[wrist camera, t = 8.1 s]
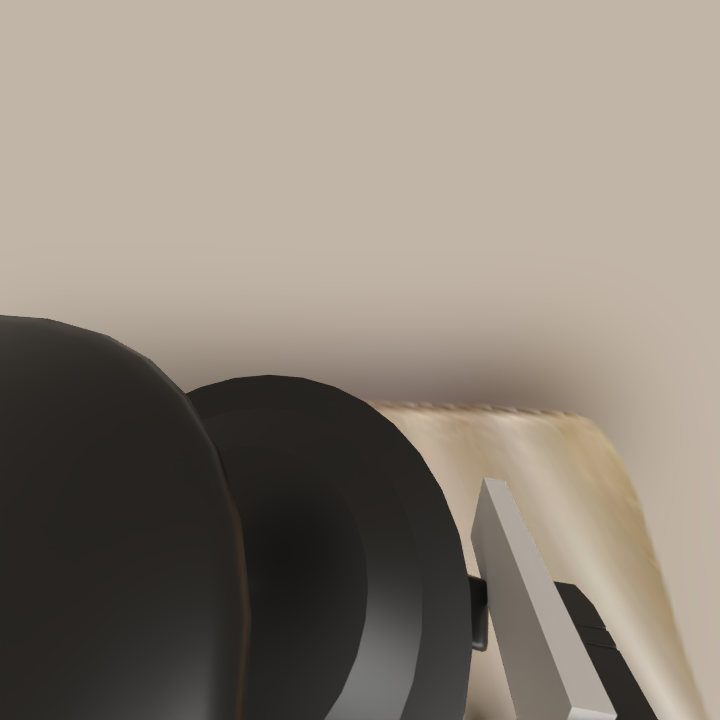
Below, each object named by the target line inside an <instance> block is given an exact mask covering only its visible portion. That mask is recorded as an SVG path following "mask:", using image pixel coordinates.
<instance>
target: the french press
mask: <svg viewBox="0 0 720 720" xmlns="http://www.w3.org/2000/svg"><path fill="white" fill-rule="evenodd" d="M488 609H489V607H488V596H487V583H486V581H485V580H484V579H481V578H478V577H475V576H472V575H469V574H467V569H466V564H465V560H464V555H463V550H462V545H461V540H460V535H459V532H458V530H457V527H456V525H455V522H454V519H453V517H452V514H451V512H450V509H449V507H448V504H447V501H446V499H445V496H444V494H443V491H442V489H441V487H440V486H439V484H438V482H437V481H436V479H435V477H434V476H433V474H432V473H431V471H430V469H429V468H428V466H427V464H426V463H425V461H424V459H423V458H422V456H421V454H420V453H419V452H418V451H417V449H416V448H415V447H414V446H413V445H412V444H411V443H410V442H409V441H408V439H407V438H406V437H405V436H404V435H403V434H402V433H401V432H400V430H399V429H398V428H397V427H396V426H395V425H394V424H393V423H392V422H390V421H389V420H388V419H387V418H385V417H384V416H383V415H381V414H380V413H379V412H377V411H376V410H375V409H374V408H372V407H371V406H370V405H368V404H367V403H366V402H364V401H362V400H360V399H358V398H356V397H354V396H352V395H350V394H348V393H346V392H344V391H342V390H340V389H338V388H336V387H333V386H330V385H326V384H323V383H319V382H316V381H312V380H309V379H305V378H299V377H288V376H276V375H262V376H252V377H241V378H233V379H229V380H226V381H223V382H219V383H214V384H211V385H207V386H203V387H200V388H198V389H195V390H194V391H191V392H189V393H186V394H185V393H183V391H182V390H181V389H180V388H179V387H178V386H177V385H176V384H175V383H174V382H173V381H172V380H171V379H170V378H169V377H168V376H167V375H166V374H165V373H163V372H162V370H161V369H160V368H159V367H157V366H156V365H155V364H154V363H153V362H152V361H151V360H150V359H148V358H147V357H145V356H143V355H141V354H140V353H138V352H136V351H134V350H133V349H131V348H129V347H127V346H125V345H124V344H122V343H120V342H118V341H117V340H115V339H113V338H111V337H110V336H107V335H104V334H101V333H97V332H94V331H90V330H87V329H83V328H79V327H76V326H73V325H69V324H66V323H62V322H59V321H54V320H50V319H44V318H31V317H18V316H4V315H0V720H462V719H463V716H464V712H465V705H466V697H467V688H468V680H469V671H470V663H471V655H472V649H473V650H477V651H481V652H483V651H486V650H487V645H488Z"/></svg>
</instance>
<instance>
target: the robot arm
mask: <svg viewBox="0 0 720 720" xmlns="http://www.w3.org/2000/svg"><path fill="white" fill-rule="evenodd" d="M471 541H472V545H473V549H474V552H475V556H476V560H477V564H478V568H479V572H480V576H481V579H484V580H485V581H486V583H487V596H488V607H489V611H490V615H491V619H492V623H493V626H494V630H495V634H496V638H497V642H498V646H499V650H500V654H501V658H502V662H503V665H504V669H505V673H506V677H507V681H508V685H509V689H510V693H511V697H512V701H513V704H514V708H515V712H516V716H517V720H658V719H657V717H656V715H655V714H654V712H653V710H652V708H651V706H650V705H649V703H648V701H647V699H646V698H645V696H644V694H643V692H642V690H641V689H640V687H639V685H638V683H637V682H636V680H635V678H634V676H633V674H632V673H631V671H630V669H629V667H628V666H627V664H626V662H625V660H624V658H623V657H622V655H621V653H620V651H618V650H617V648H616V644H615V642H614V641H613V639H612V637H611V635H610V634H609V632H608V631H606V626H605V625H604V623H603V621H602V619H601V618H600V616H599V614H598V612H597V610H596V609H595V607H594V605H593V604H592V603H591V602H590V601H589V600H588V598H587V597H586V596H585V595H584V594H583V593H582V592H581V591H580V590H579V589H578V588H577V587H576V585H573V584H567V583H560V582H554V581H553V580H552V578H551V576H550V574H549V572H548V570H547V568H546V565H545V563H544V561H543V559H542V557H541V555H540V553H539V551H538V549H537V547H536V545H535V542H534V540H533V538H532V536H531V534H530V532H529V530H528V528H527V526H526V524H525V522H524V520H523V517H522V515H521V513H520V511H519V509H518V507H517V505H516V503H515V501H514V499H513V497H512V494H511V492H510V490H509V488H508V486H507V484H506V482H505V480H499V479H492V478H484V477H483V482H482V486H481V491H480V495H479V500H478V505H477V509H476V514H475V518H474V523H473V527H472V532H471Z"/></svg>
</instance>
